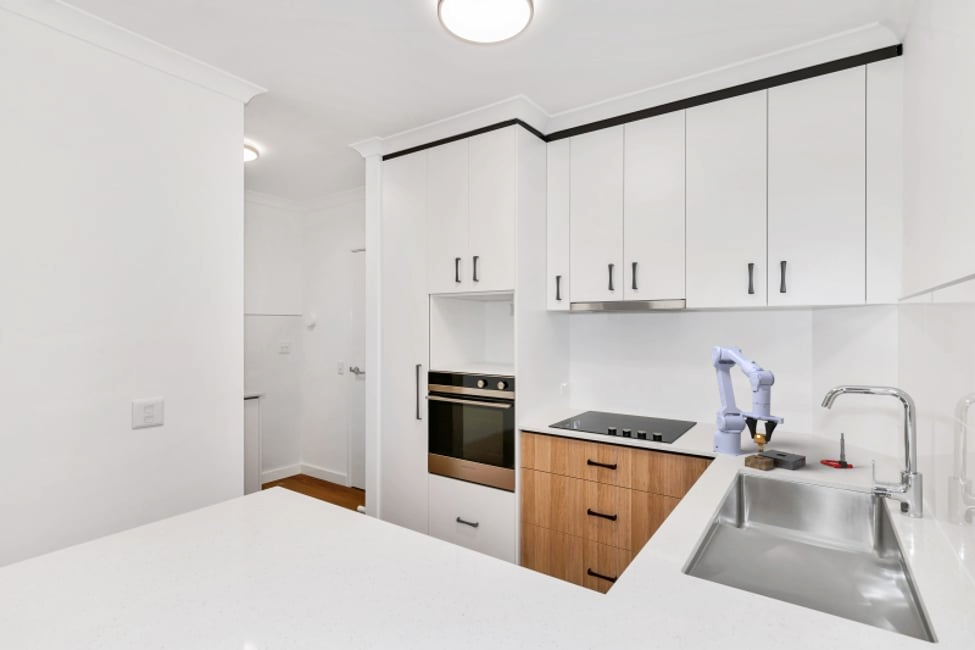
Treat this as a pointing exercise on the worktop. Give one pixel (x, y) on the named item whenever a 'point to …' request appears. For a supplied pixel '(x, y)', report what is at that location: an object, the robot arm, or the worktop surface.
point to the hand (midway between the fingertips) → (760, 439)
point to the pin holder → (759, 462)
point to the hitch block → (785, 459)
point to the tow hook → (842, 462)
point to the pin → (760, 440)
